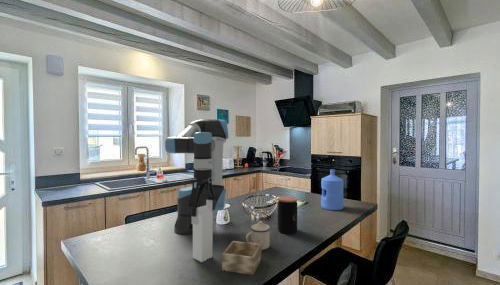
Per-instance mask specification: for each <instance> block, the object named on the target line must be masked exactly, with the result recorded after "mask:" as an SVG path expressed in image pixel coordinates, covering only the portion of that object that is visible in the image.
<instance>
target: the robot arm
mask: <svg viewBox="0 0 500 285" xmlns="http://www.w3.org/2000/svg"><path fill="white" fill-rule="evenodd" d="M227 122H228V121H227V120H226V119H216V118H215V119H209V118H206V119H204V118H201V119H197V120H194V121H191V122H190V123H188V124H187V125H186V126H185V127H184V129H183V130H182V131H181V132H180V133H179V134H177V135H176V136H168V137H166V138H165V141H164V150H165V152H166V153H167V154H193V178H194V179H196V181H195V182H192V185H191V186H187V187H181V188H180V189H179V190H178V191H177V198H176V199H177V217H176V220H175V223H174V225H173V229H174V232H175V233H176V234H180V235H191V234H192V235H193V224H196V225H198V224H199V208H198V207H202V206H205V205H208V209H209V210H210V211H211V212H212V213H213V211H214V212H217V211H219V212H221V211H224V209H225V206H226V202H227V196H228V190H227V189H226V188H225V185H224V184H223V168H224V167H223V165H224V164H223V163H224V162H223V159H224V144H225V143H226V142H227V139H229V137H230V136H229V127H228V123H227Z"/></svg>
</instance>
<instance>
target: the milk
mask: <svg viewBox="0 0 500 285" xmlns="http://www.w3.org/2000/svg"><path fill="white" fill-rule="evenodd" d="M198 208H199V224H198V225H196V224H193V233H192V259H194V260H196V261H198V262H200V263H203V262H205V261H207V259H208V260H209V258H210V259H211V258H213V242H214V241H213V235H214V234H213V232H214V231H213V228H214V226H213V220H214V219H213V218H214V217H213V215H214V214H213V211H212V212H211V211H210V210H209V209H208V205H205V206H202V207H198Z"/></svg>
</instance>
